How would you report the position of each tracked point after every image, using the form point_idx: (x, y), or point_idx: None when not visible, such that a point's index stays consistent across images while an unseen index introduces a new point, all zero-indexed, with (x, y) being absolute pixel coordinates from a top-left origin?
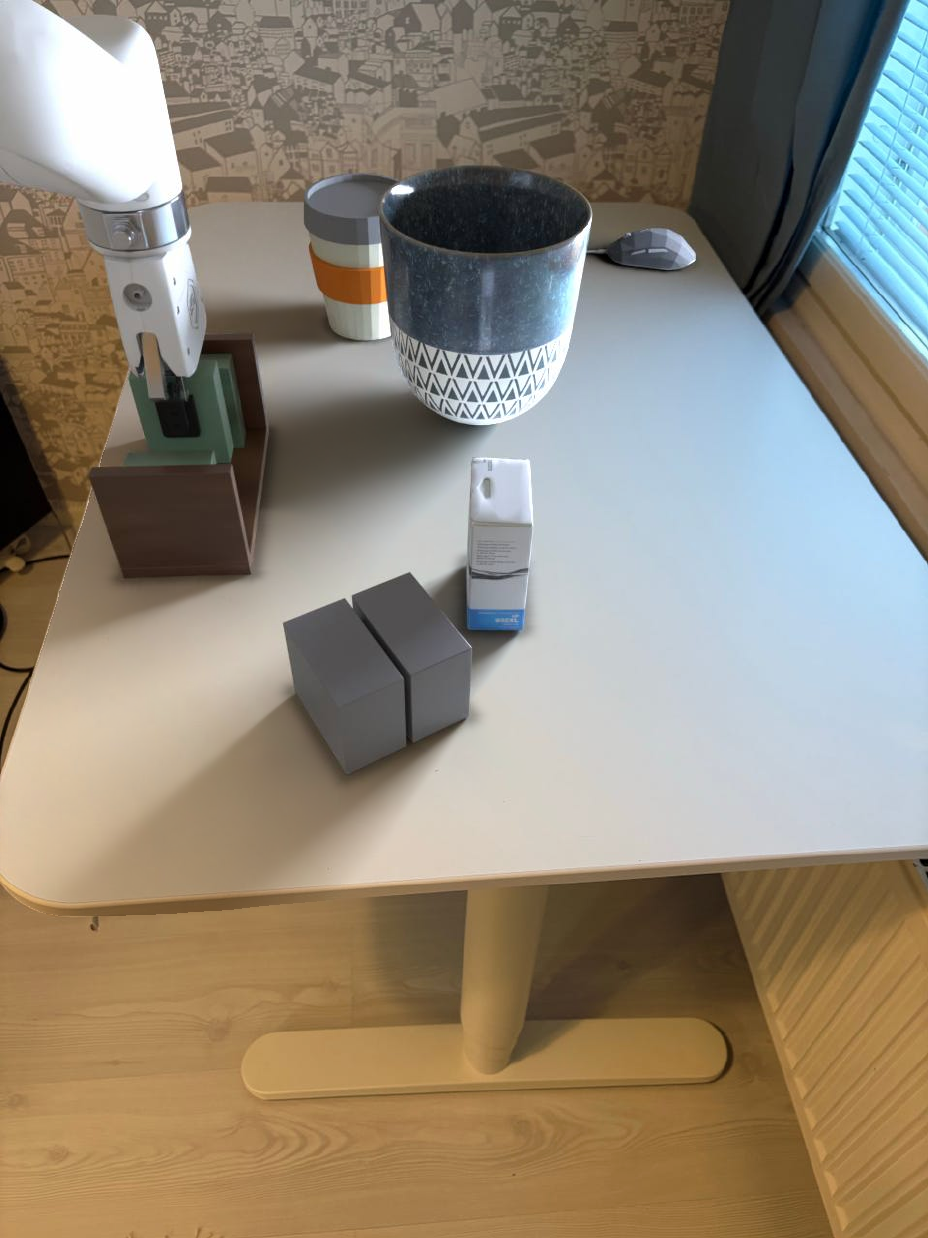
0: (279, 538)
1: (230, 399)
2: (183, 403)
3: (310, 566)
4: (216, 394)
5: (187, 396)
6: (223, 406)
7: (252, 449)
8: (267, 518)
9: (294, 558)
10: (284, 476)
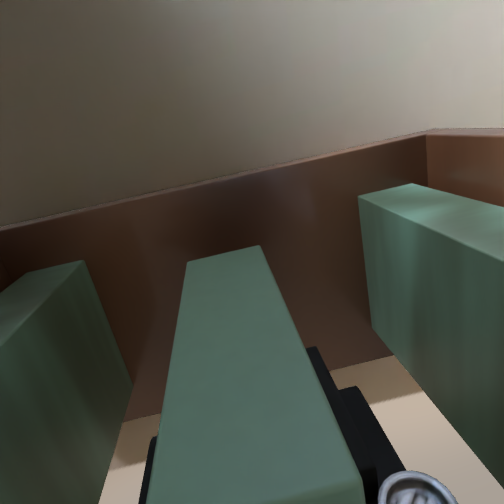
0: (332, 101)
1: (27, 335)
2: (378, 475)
3: (411, 6)
4: (317, 381)
5: (389, 490)
6: (218, 329)
7: (82, 239)
8: (275, 145)
9: (388, 50)
10: (130, 148)
